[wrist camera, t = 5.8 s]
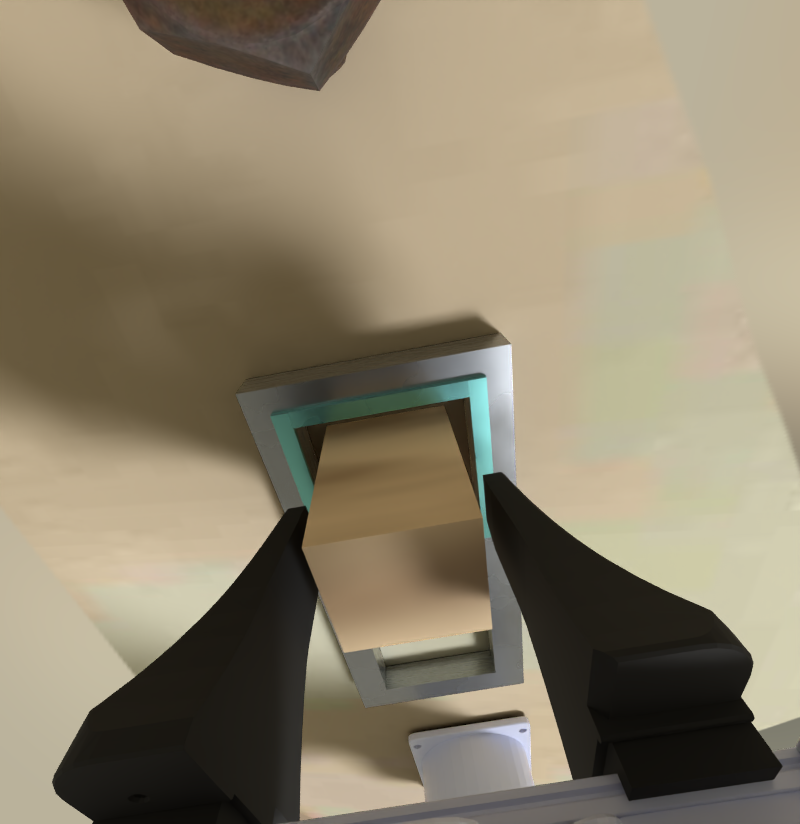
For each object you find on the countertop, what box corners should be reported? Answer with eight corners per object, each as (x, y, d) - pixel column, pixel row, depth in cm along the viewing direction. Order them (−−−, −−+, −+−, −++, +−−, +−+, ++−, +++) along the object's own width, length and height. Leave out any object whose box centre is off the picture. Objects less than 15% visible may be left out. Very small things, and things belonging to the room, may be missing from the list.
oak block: (455, 496, 17) (492, 629, 12) (353, 513, 17) (344, 652, 12) (443, 404, 15) (482, 517, 10) (327, 425, 15) (301, 548, 10)
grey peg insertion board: (516, 661, 23) (525, 686, 22) (365, 684, 23) (365, 711, 22) (500, 332, 14) (513, 346, 12) (246, 379, 14) (233, 397, 13)
